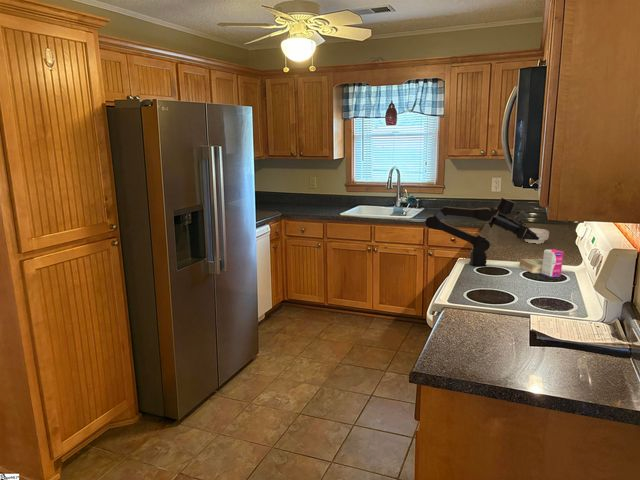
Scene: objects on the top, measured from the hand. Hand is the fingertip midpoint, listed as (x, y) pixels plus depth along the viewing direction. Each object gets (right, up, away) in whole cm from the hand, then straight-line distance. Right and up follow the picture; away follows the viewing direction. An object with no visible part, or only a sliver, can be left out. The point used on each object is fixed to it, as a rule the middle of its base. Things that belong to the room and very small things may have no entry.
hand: (537, 237), depth 224 cm
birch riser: (+2, -15, +2) cm, 15 cm away
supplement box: (+2, -17, -9) cm, 20 cm away
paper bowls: (+30, -3, +70) cm, 76 cm away
